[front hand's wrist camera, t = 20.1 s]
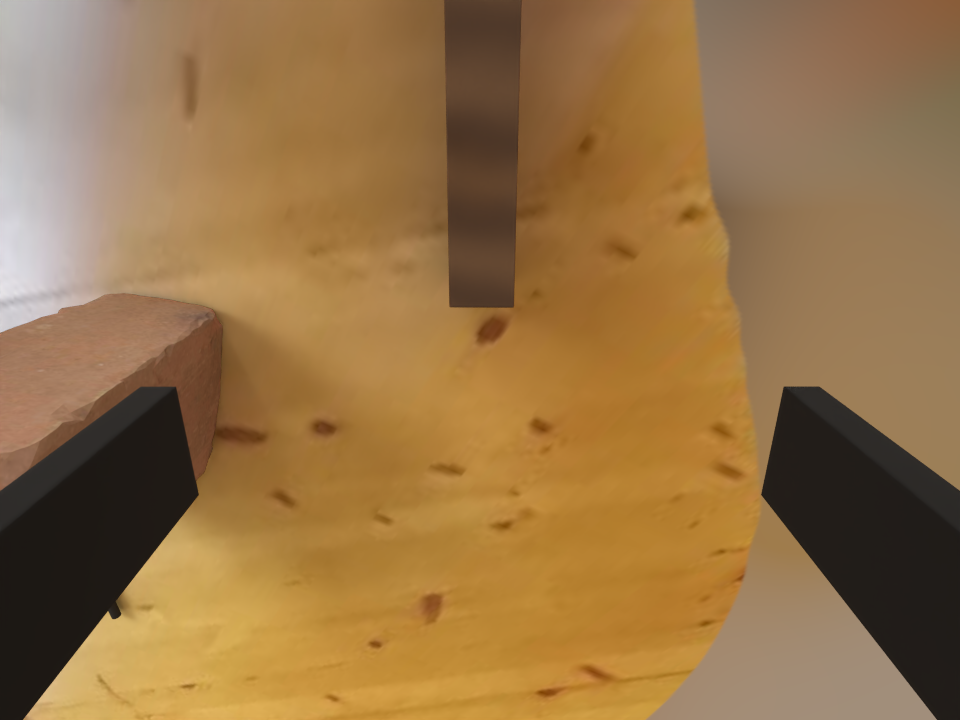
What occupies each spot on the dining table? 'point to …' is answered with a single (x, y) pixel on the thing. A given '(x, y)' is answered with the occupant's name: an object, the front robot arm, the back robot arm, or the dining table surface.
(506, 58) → the beam
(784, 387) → the front robot arm
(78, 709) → the dining table surface
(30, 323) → the stone
